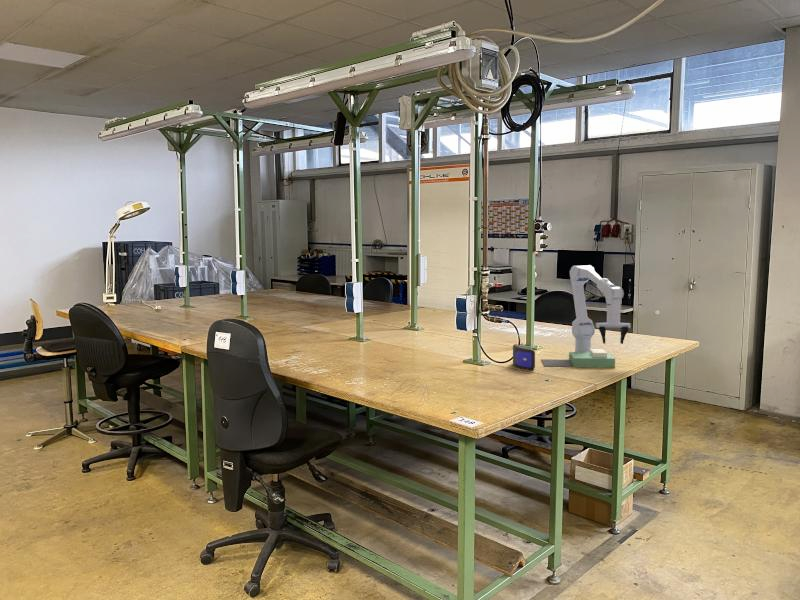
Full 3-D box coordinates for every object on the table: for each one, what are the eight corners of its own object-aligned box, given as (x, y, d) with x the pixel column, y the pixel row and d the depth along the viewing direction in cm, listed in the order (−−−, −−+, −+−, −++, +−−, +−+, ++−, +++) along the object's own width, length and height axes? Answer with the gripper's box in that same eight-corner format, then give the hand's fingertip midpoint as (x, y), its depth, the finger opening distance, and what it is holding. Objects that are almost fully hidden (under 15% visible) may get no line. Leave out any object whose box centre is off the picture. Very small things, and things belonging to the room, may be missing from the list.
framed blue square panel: (507, 364, 284) (507, 344, 283) (516, 363, 285) (516, 343, 284) (526, 371, 269) (526, 350, 268) (535, 370, 270) (535, 349, 269)
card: (589, 353, 285) (589, 349, 285) (603, 353, 284) (603, 349, 284) (593, 357, 276) (593, 352, 276) (607, 357, 276) (607, 353, 275)
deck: (569, 360, 289) (569, 351, 289) (608, 360, 287) (608, 352, 286) (573, 366, 276) (573, 358, 275) (614, 367, 273) (615, 358, 273)
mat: (541, 359, 291) (541, 359, 291) (569, 360, 289) (569, 359, 289) (543, 366, 277) (543, 365, 277) (573, 366, 276) (573, 366, 276)
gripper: (598, 314, 273) (597, 344, 274) (632, 314, 271) (631, 345, 272) (595, 312, 280) (595, 341, 281) (628, 312, 278) (628, 342, 279)
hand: (612, 343), depth 277 cm, fingers open, 7 cm apart
